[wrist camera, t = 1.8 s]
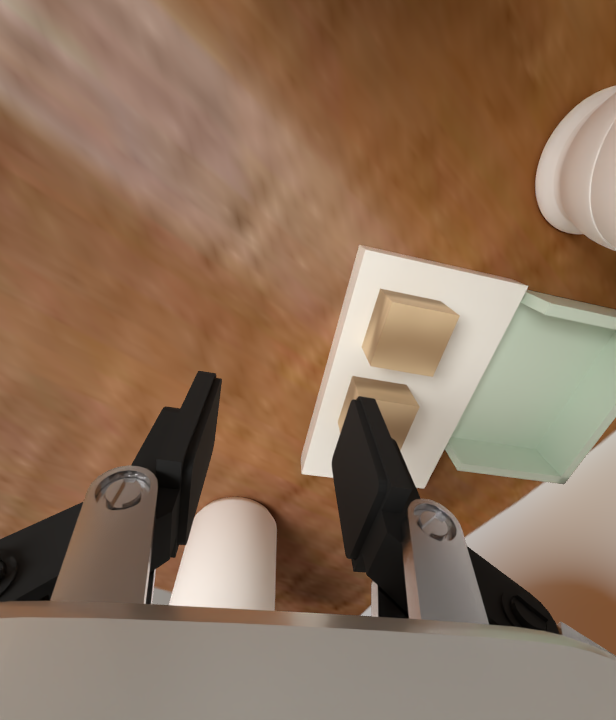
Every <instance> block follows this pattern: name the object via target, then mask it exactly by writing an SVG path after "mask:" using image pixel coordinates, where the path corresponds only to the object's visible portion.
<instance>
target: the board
mask: <svg viewBox="0 0 616 720" xmlns="http://www.w3.org/2000/svg"><path fill="white" fill-rule="evenodd" d="M527 288H528V286H527V285H524V284H522V283H520V282H517V281H515V280H513V279H509V278H504V277H500V276H496V275H491V274H487V273H482V272H478V271H474V270H469V269H465V268H460V267H456V266H451V265H447V264H443V263H438V262H434V261H429V260H425V259H420V258H416V257H412V256H407V255H403V254H398V253H394V252H390V251H385V250H381V249H376V248H372V247H367V246H363V245H359V248H358V252H357V255H356V259H355V263H354V266H353V270H352V274H351V277H350V281H349V285H348V288H347V292H346V296H345V299H344V303H343V306H342V310H341V314H340V317H339V321H338V325H337V328H336V332H335V336H334V339H333V343H332V346H331V350H330V354H329V357H328V361H327V365H326V368H325V372H324V376H323V379H322V383H321V387H320V390H319V394H318V397H317V401H316V405H315V408H314V412H313V416H312V419H311V423H310V427H309V430H308V434H307V437H306V441H305V445H304V448H303V452H302V456H301V471H302V474H307V475H315V476H323V477H332V478H333V473H332V457H333V454H334V451H335V448H336V445H337V442H338V439H339V436H340V430H339V426H338V419H339V416H340V413H341V410H342V407H343V404H344V400H345V397H346V394H347V391H348V388H349V385H350V382H351V378H352V376H357V377H363V378H369V379H375V380H381V381H387V382H393V383H399V384H405V385H407V386H408V388H409V390H410V391H411V393H412V395H413V396H414V398H415V400H416V401H417V403H418V405H419V406H420V407H419V410H418V412H417V414H416V416H415V419H414V421H413V423H412V425H411V428H410V430H409V432H408V434H407V437H406V439H405V441H404V444H403V446H402V448H401V450H400V451H401V454H402V456H403V458H404V461H405V463H406V465H407V468H408V470H409V472H410V475H411V477H412V480H413V482H414V484H415V487H416V488H425V486H426V484H427V482H428V480H429V478H430V476H431V474H432V472H433V470H434V469H435V467H436V465H437V463H438V461H439V459H440V457H441V455H442V453H443V451H444V449H445V447H446V445H447V443H448V441H449V439H450V438H451V436H452V434H453V432H454V430H455V428H456V426H457V424H458V422H459V420H460V418H461V416H462V414H463V412H464V410H465V408H466V406H467V405H468V403H469V401H470V399H471V397H472V395H473V393H474V391H475V389H476V387H477V385H478V383H479V381H480V379H481V377H482V375H483V374H484V372H485V370H486V368H487V366H488V364H489V362H490V360H491V358H492V356H493V354H494V352H495V350H496V348H497V346H498V344H499V343H500V341H501V339H502V337H503V335H504V333H505V331H506V329H507V327H508V325H509V323H510V321H511V319H512V317H513V315H514V313H515V311H516V310H517V308H518V306H519V304H520V302H521V300H522V298H523V296H524V294H525V292H526V290H527ZM380 289H385V290H390V291H395V292H400V293H404V294H409V295H414V296H419V297H424V298H428V299H433V300H438V301H441V302H443V303H444V304H445V305H447V306H448V307H449V308H450V309H452V310H453V311H454V312H456V313H457V314H458V315H460V317H459V319H458V321H457V323H456V326H455V328H454V330H453V333H452V335H451V337H450V339H449V342H448V344H447V346H446V348H445V351H444V353H443V355H442V357H441V360H440V362H439V364H438V367H437V369H436V371H435V373H434V376H433V377H430V376H424V375H418V374H413V373H407V372H401V371H395V370H389V369H384V368H378V367H372V366H370V364H369V362H368V360H367V358H366V356H365V353H364V351H363V349H362V344H363V341H364V338H365V335H366V331H367V328H368V325H369V322H370V319H371V316H372V313H373V309H374V306H375V303H376V300H377V297H378V294H379V291H380Z"/></svg>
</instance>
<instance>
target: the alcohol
mask: <svg viewBox="0 0 616 720" xmlns="http://www.w3.org/2000/svg"><path fill="white" fill-rule="evenodd" d="M276 544H277V526H276V522H275V520H274V518H273V517H272V515H271V514H270V513H269V511H268V510H267V509H266V508H265V507H264V506H263V505H262V504H260V503H258V502H257V501H254V500H251V499H248V498H244V497H225V498H221V499H218V500H215V501H213V502H211V503H209V504H208V505H206V506H205V507H204V508H203V509H202V510H201V511H200V512H198V513H197V514H196V516H195V517H194V520H193V524H192V527H191V531H190V534H189V538H188V541H187V544H186V546H185V549H184V553H183V556H182V560H181V563H180V567H179V571H178V574H177V578H176V581H175V585H174V588H173V592H172V596H171V599H170V603H169V605H174V606H193V607H212V608H232V609H250V610H268V611H275V579H276Z"/></svg>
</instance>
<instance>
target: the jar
mask: <svg viewBox="0 0 616 720" xmlns="http://www.w3.org/2000/svg"><path fill="white" fill-rule="evenodd" d="M535 192H536V199H537V203H538V206H539V209H540V211H541V213H542V215H543V216H544V218H545V219H546V220H547V221H548V222H549V223H550V224H551V225H552V226H554V227H555V228H557V229H559V230H561V231H563V232H566V233H571V234H584V235H585V236H587V237H588V238H590V239H591V240H593V241H595V242H596V243H598V244H600V245H602V246H604V247H607V248H609V249H611V250H614V251H616V86H612V87H609V88H606V89H603V90H601V91H598V92H596V93H595V94H593V95H591V96H589V97H588V98H586V99H585V100H583V101H582V102H581V103H579V104H578V105H577V106H576V107H574V108H573V109H572V110H571V111H570V112H569V113H568V114H567V115H566V116H565V117H564V118H563V120H562V121H561V122H560V123H559V124H558V126H557V127H556V128H555V130H554V131H553V133H552V134H551V136H550V138H549V139H548V141H547V143H546V145H545V147H544V149H543V152H542V154H541V157H540V160H539V163H538V167H537V172H536V179H535Z"/></svg>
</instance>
